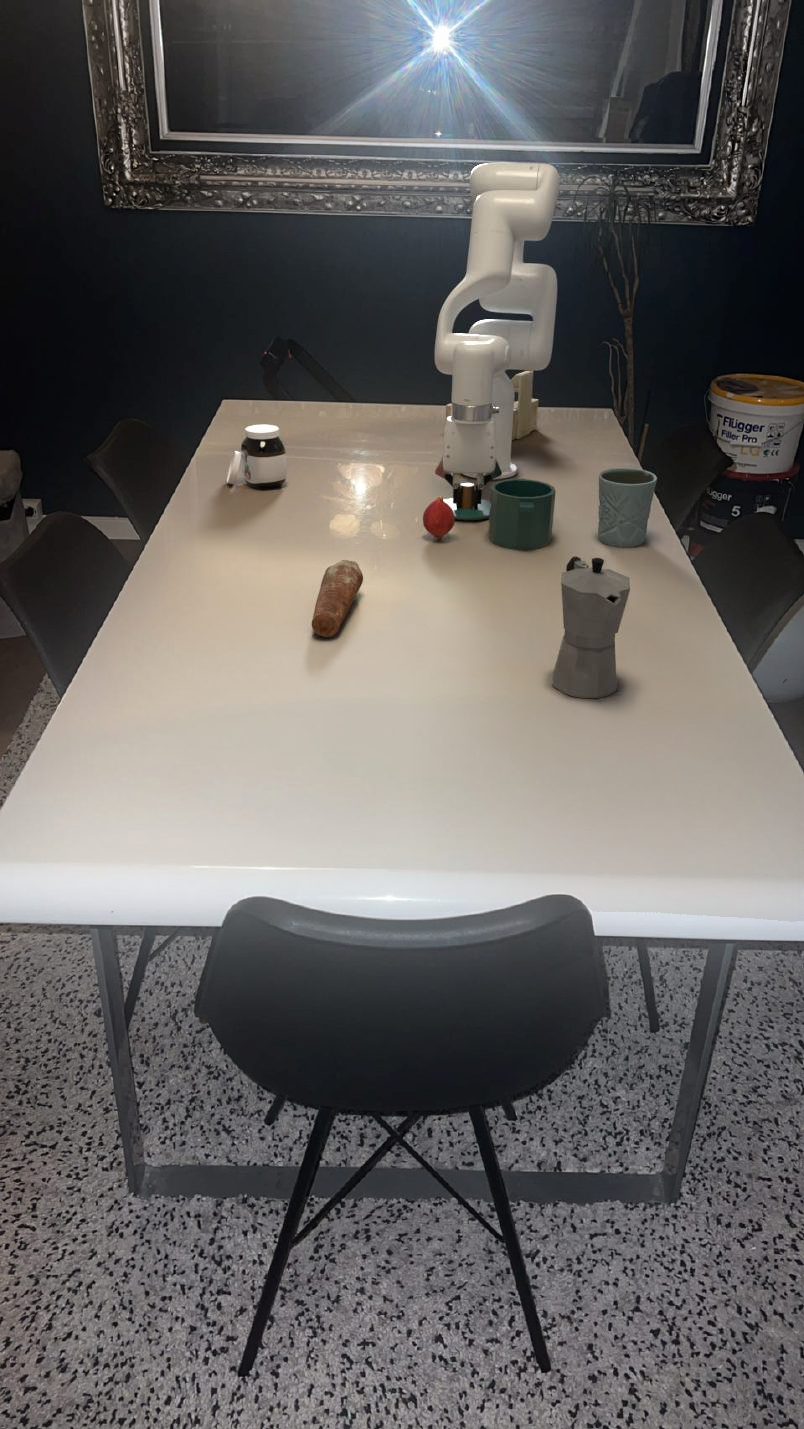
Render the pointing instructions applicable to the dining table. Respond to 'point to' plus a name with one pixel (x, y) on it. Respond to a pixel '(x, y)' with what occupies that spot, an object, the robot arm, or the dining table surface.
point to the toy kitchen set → (520, 406)
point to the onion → (438, 518)
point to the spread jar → (260, 458)
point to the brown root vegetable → (336, 596)
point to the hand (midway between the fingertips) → (466, 506)
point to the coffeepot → (589, 629)
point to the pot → (521, 513)
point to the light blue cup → (624, 505)
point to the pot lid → (469, 505)
